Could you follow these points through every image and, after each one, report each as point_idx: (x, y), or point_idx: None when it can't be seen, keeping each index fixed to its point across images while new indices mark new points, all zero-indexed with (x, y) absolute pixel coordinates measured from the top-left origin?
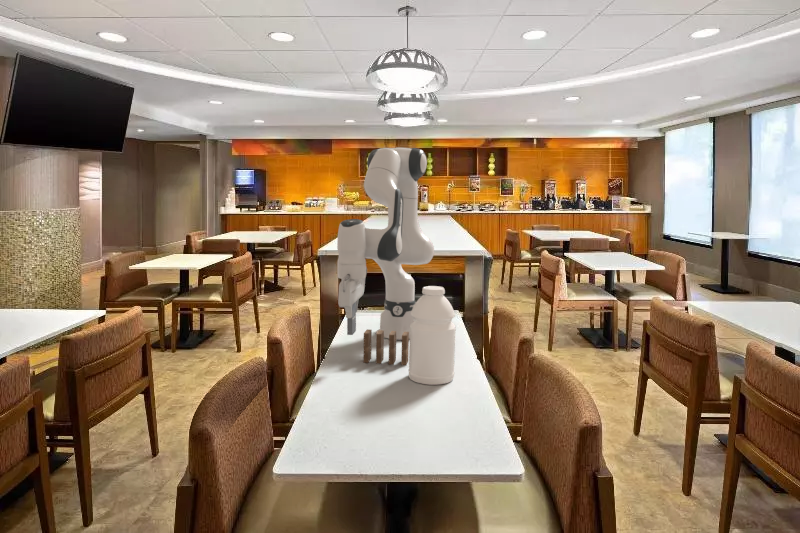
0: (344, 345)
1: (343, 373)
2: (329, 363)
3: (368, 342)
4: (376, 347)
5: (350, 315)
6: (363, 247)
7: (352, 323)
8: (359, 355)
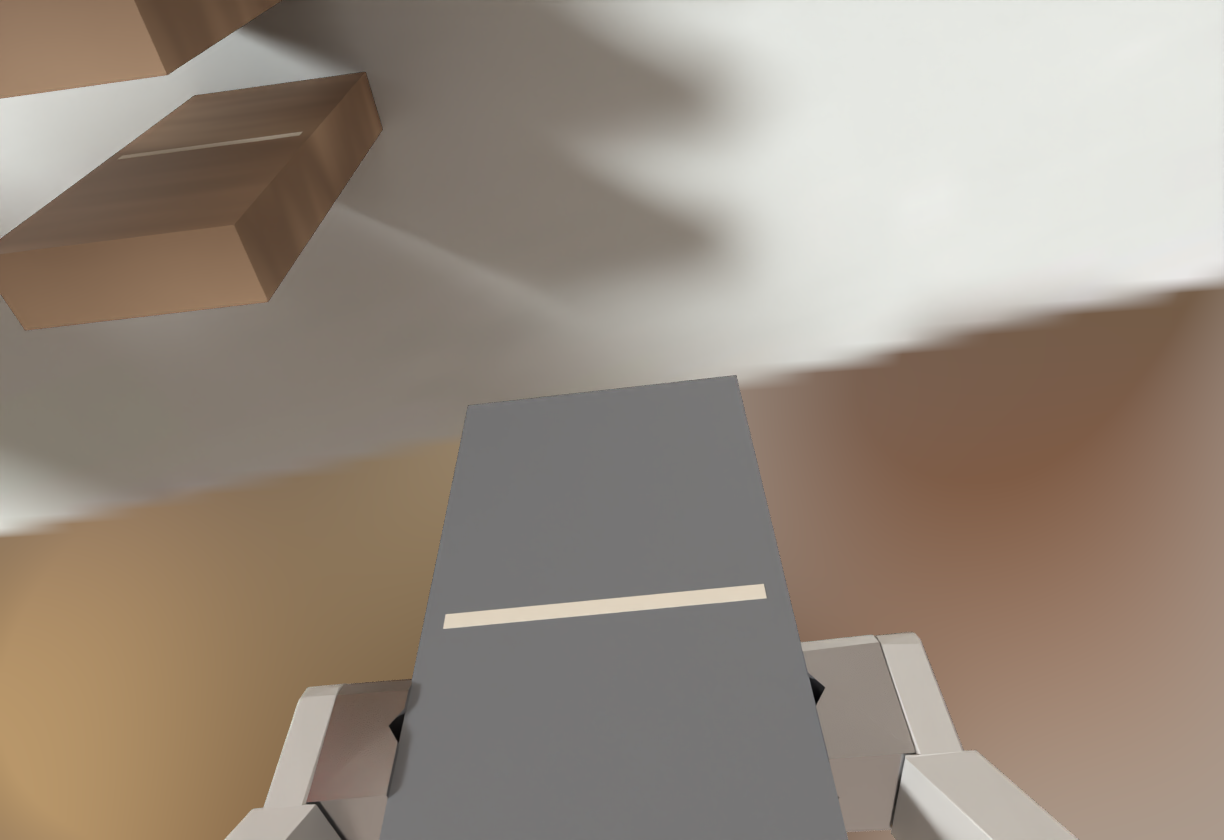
0: (7, 472)
1: (790, 202)
2: None
3: (281, 163)
4: (260, 7)
5: (930, 695)
6: None
7: (755, 518)
8: None
